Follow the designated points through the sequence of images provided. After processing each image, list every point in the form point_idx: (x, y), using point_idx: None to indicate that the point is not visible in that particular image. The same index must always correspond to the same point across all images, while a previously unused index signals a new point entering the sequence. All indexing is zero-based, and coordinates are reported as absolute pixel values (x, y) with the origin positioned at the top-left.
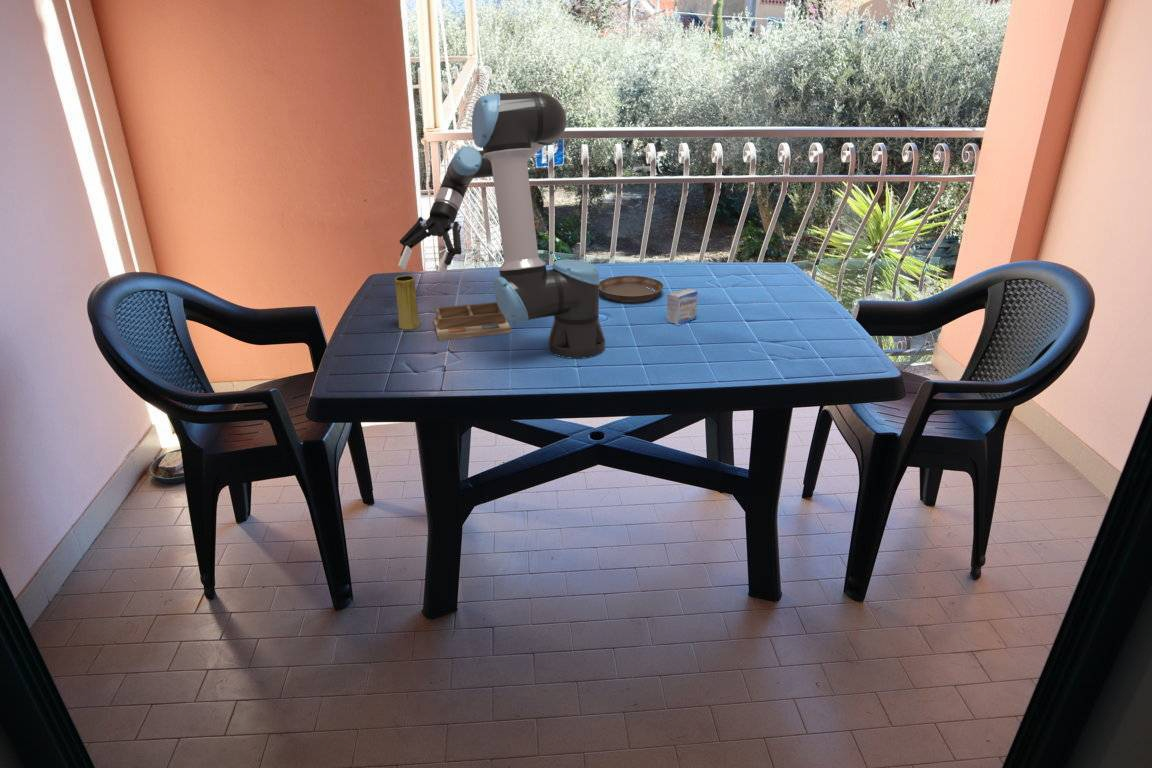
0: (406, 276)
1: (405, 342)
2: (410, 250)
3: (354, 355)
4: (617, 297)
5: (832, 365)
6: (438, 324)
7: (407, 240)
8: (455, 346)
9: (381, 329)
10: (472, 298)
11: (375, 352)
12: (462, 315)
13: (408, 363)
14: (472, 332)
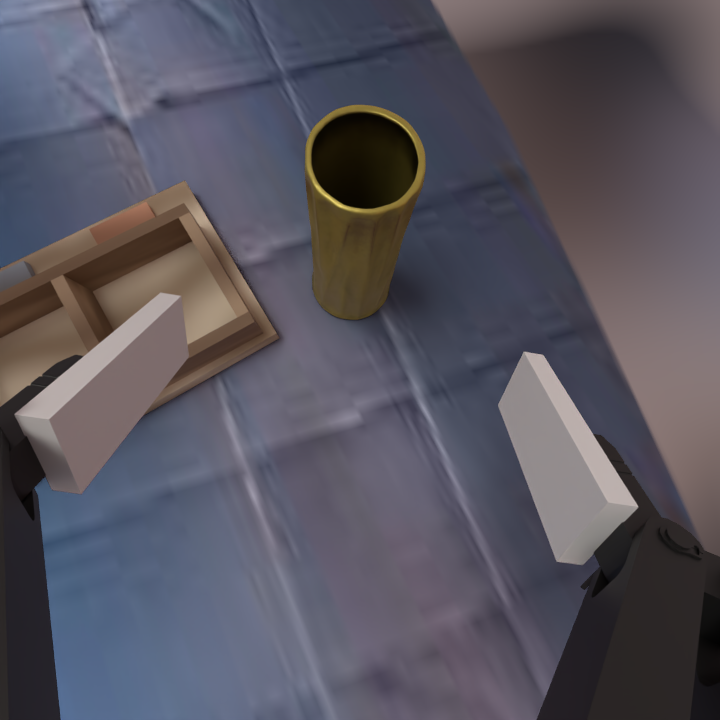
0: (380, 212)
1: (295, 155)
2: (565, 527)
3: (395, 46)
4: None
5: None
6: (222, 264)
7: (701, 596)
8: (115, 161)
9: (429, 233)
10: (232, 663)
11: (347, 74)
12: None
13: (213, 27)
14: (69, 237)
